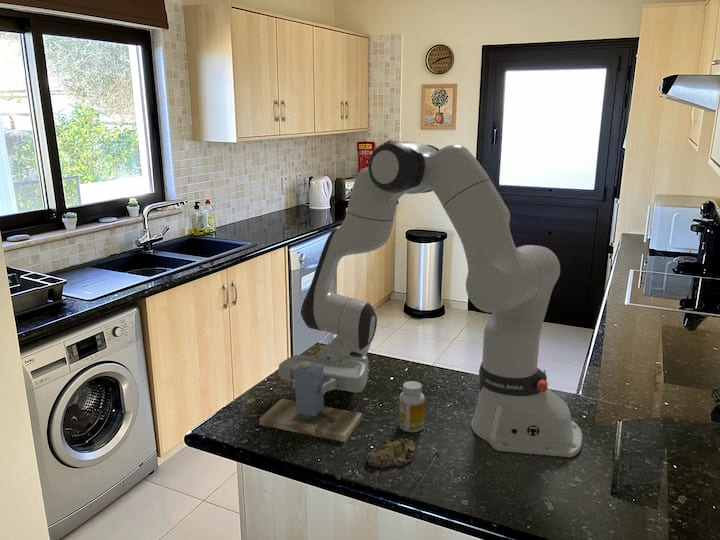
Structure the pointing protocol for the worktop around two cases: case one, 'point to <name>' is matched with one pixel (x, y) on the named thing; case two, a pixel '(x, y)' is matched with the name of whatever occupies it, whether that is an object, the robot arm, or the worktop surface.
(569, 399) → the worktop surface
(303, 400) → the block
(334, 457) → the worktop surface
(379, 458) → the mineral rock
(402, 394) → the supplement bottle
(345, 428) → the board
